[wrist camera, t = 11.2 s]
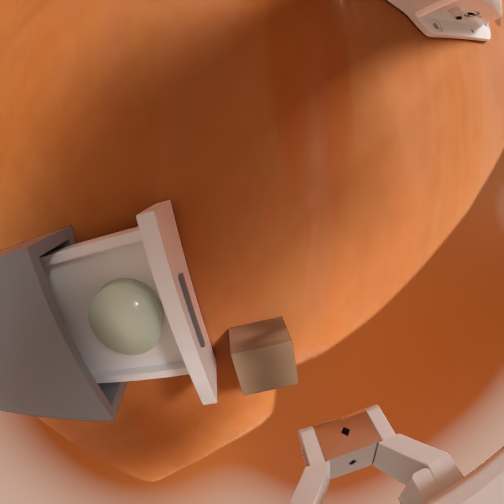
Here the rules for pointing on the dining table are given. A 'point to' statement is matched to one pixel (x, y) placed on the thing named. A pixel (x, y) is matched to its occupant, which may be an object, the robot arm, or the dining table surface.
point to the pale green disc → (127, 316)
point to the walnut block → (263, 356)
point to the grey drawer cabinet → (44, 343)
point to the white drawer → (155, 277)
